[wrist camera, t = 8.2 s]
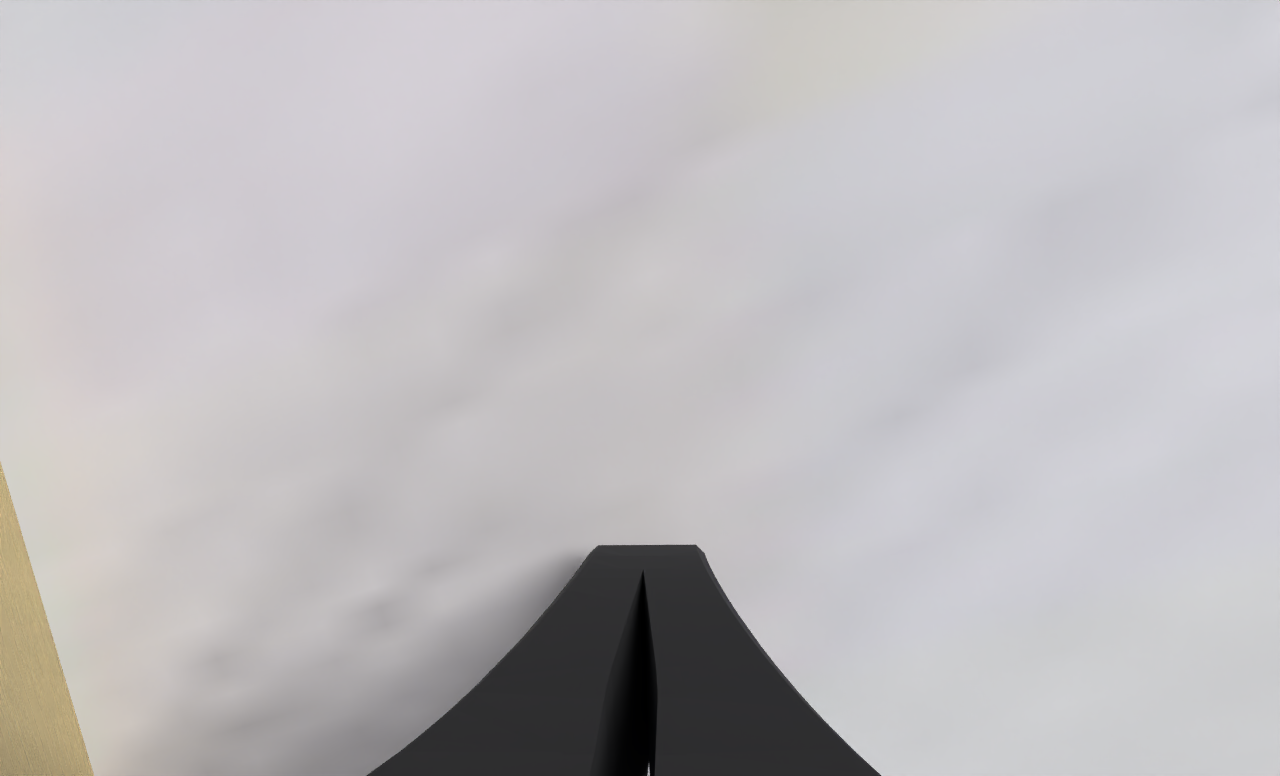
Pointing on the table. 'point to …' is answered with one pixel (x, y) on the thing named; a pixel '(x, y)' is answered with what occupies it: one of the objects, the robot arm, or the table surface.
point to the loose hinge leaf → (31, 670)
